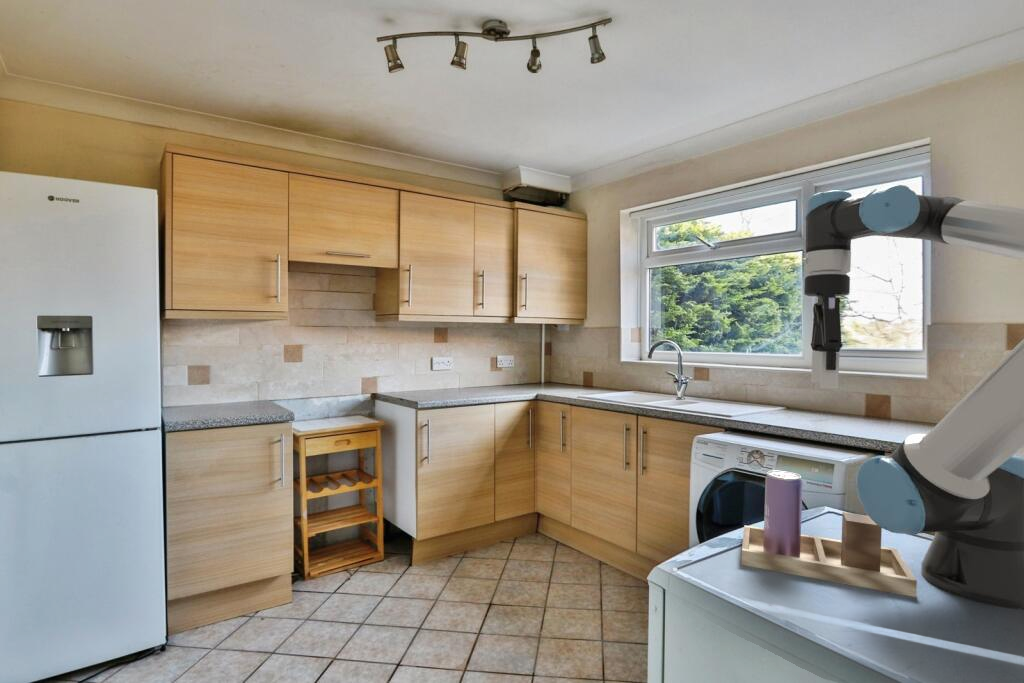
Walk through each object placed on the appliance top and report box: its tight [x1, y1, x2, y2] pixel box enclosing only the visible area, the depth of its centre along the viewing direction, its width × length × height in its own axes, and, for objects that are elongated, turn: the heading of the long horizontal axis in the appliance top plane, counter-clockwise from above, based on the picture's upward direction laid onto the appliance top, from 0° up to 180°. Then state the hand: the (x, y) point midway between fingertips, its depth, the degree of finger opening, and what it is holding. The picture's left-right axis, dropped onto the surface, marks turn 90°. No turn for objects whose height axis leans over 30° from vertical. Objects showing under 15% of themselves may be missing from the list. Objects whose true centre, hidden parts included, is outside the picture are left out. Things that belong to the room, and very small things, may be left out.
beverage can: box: [763, 470, 803, 558], centre depth 98 cm, size 6×6×15 cm
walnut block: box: [841, 512, 883, 572], centre depth 93 cm, size 5×5×9 cm
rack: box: [741, 524, 918, 598], centre depth 96 cm, size 25×14×3 cm, turn 65°
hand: (823, 385), depth 104 cm, fingers open, 13 cm apart
